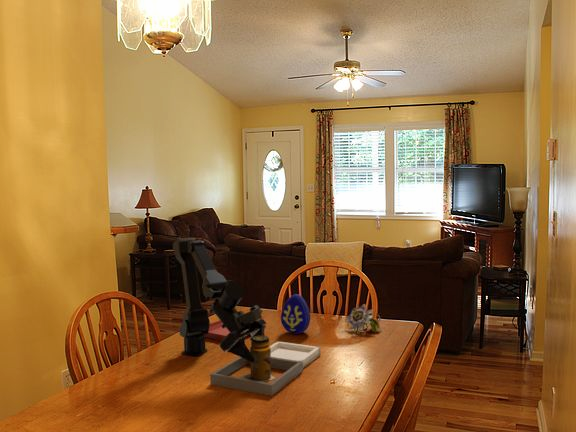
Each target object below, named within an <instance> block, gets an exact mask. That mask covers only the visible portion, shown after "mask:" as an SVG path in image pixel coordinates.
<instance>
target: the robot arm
mask: <svg viewBox="0 0 576 432" xmlns="http://www.w3.org/2000/svg"><path fill="white" fill-rule="evenodd" d="M172 249H173V252H174V256H175V259H176V260H177V261H178V263H180V265H181V272H182V280H183V287H184V295H185V303H186V308H185V310H184V312H183V314H182V319H183V321H181V322H182V323H181V325H180V326H179V329H178V330H179V335H180V337H182V338H183V348H184V349H183V351H181V355H187V356H193V357H198V356H200V355H202V354H204V353H206V352H208V348H206V338H205V337H204V334H208V332H209V325H210V324H211V322H210V318H209V314H213V313H214V314H215V315H216V317H217V319H219V320H221V322H222V323H223V325H222V328H223V329H224V328H227V329H228V331H229V332H230V333H229V334H228V335H227V336H226V337H225V338H224V339H223V340H220V342H219V348H220V349H221V350H222V351H223V353H225V352H226V351H227V353H230V354H233V355H235V356H238V357H242V358H244V359H246V360H248V361H250V362H254V361H255V359H254V357H253V355H252V354H251V352H250V348H248V347H247V345H246V342H245V341H246V340H245V337H248V338H250V339H249V341H251V339H252V338H253V337H254V336H266V335H265V329H266V325H267V322H266V320H264V318H263V316H262V314H263V310H262V309H261V308H260V307H259V305H258V304H257V305H253V306H251V307H249V311H247V312H245V313H244V311H243V310H239V311H238V309H237V308H236V307H237V305H238V304H239V303H240V301H241V300H242V299H243V297H244V295H245V291H244V288H243V287H242V286H241V285H239V284H238V283H235V281H234V280H233V279H231V280H227V279H226V277H224V275H223V274H221V273H219V272H218V271H217V270H216V267H215V265H214V263H213V260H212V259H211V256H210V254H209V252H208V250H207V248H206V243H205V241H204V240H201V239H196V238H195V237H182V238H180V237H179V238H176V239H175V241H174V242H172ZM197 270H198V271H199V274H200V275H201V279H202V281H203V282H202V285H201V289H202V293H203V296H204V297H205V299H206V300H210V301H211V300H214V302H212V303H210V304H209V311H208V309H207V308H204V306H203V305H202V302H201V301H202V300H201V295H200V287H199V286H200V285H199V278H198V271H197ZM208 312H209V313H208ZM245 332H246V333H245ZM241 334H242V335H241Z"/></svg>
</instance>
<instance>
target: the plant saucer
mask: <svg viewBox="0 0 576 432" xmlns="http://www.w3.org/2000/svg"><path fill="white" fill-rule="evenodd" d="M222 325H223V323H222V322H221V320H220V319H219V320H216V321H215V322H212V323H211V322H210V325H209V332H208V334H204V338H208V339H212V340H218V341H222V340H223V339H224V338H225V337H226V336H227V335H228V334H229V333H230V332H229V331H228V329H227V328H224V329H223V328H222ZM245 333H246V332H245ZM241 335H242V334H241Z"/></svg>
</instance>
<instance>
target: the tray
mask: <svg viewBox="0 0 576 432" xmlns="http://www.w3.org/2000/svg"><path fill="white" fill-rule="evenodd" d="M269 346H270V350H271V357H275V358H281V359H287V360H294V361H300V362H303V369H304V368H305V367H307V366H308V365H309V364H310V363H312V362H313V361H314V360H315V359H317V358H318V357H319V356H321V346H314V345H306V344H299V343H293V342H287V341H285V342H284V341H279V340H278V341H276V342H274V343H273V344H271V345H269Z"/></svg>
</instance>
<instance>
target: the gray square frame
mask: <svg viewBox="0 0 576 432" xmlns="http://www.w3.org/2000/svg"><path fill="white" fill-rule="evenodd" d="M246 365H250V361H248V360H246V359H244V358H242V357H240V356H238V357H237V358H236V359H233V360H232V361H230V362H228V363H227V364H225V365H223V366H222V367H220V368H218V369H216V370H215V371H213V372H211V373H210V374H209V376H210V377H209V379H210V382H209V383H210V385H212V386H213V385H214V386H218V387H224V388H228V389H233V390H237V391H238V390H240V391H243V392H249V393H255V394H260V395H265V396H271V397H273V396H274V395H276V394H277V393H278V392H279V391H280V390H282V389H283V388H284V387H286V386H287V385H288V384H289V383H290V382H291V381H293V380H294V379H295V378H296V377H298V376H299V375H300V374H301V373H302V372H303V370H304V368H303V362H300V361H294V360H287V359H281V358H275V357H271V369H278V370H283V371H284V370H285V372H283V373H282V374H281V375H280V376H278V377H276V378H275V379H273V380H272V381H271V382H267V381H263V382H260V381H255V380H249V379H244V378H241V377H238V376H232V375H231V374H233V373H235V372H237V371H238V370H239V369H241V368H242V367H245V366H246Z"/></svg>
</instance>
